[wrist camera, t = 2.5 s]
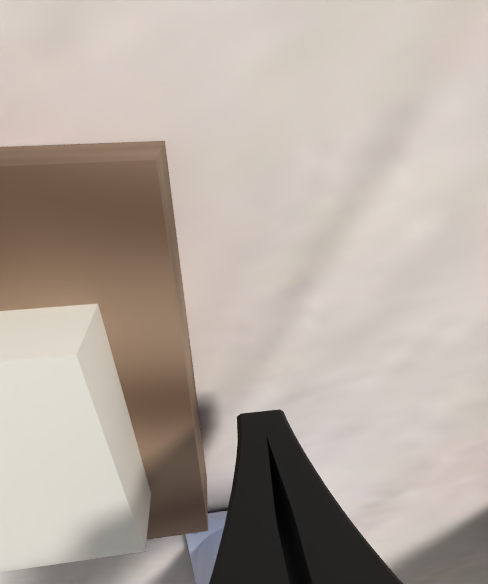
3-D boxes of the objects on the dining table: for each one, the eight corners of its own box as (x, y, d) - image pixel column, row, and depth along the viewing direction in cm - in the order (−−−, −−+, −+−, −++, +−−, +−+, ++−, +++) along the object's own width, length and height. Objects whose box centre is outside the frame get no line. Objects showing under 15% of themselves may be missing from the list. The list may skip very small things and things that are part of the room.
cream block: (151, 493, 14) (145, 551, 12) (-10, 514, 13) (-40, 577, 12) (98, 303, 9) (76, 354, 8) (-155, 323, 9) (-240, 383, 7)
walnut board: (206, 477, 18) (208, 530, 16) (-1, 502, 17) (-28, 563, 15) (164, 141, 10) (156, 160, 8) (-245, 155, 9) (-385, 182, 7)
